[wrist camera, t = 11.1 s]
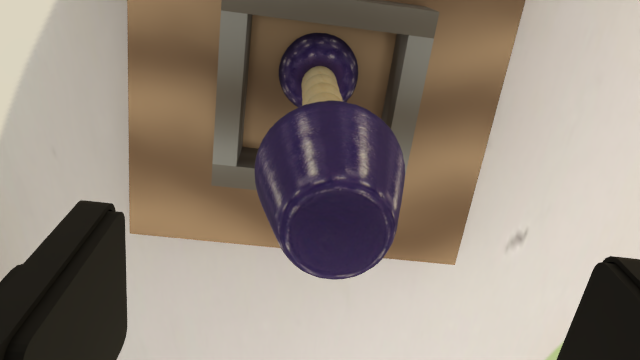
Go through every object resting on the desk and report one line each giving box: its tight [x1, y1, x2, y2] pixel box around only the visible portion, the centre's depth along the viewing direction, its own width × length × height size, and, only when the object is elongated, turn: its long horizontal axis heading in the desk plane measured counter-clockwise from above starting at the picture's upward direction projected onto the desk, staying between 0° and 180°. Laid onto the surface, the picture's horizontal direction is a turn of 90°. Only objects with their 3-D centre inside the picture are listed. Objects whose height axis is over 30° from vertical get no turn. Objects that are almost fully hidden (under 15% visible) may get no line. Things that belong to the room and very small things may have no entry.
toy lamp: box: [255, 33, 405, 279], centre depth 21 cm, size 5×5×17 cm
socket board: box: [127, 0, 525, 265], centre depth 28 cm, size 20×20×4 cm
